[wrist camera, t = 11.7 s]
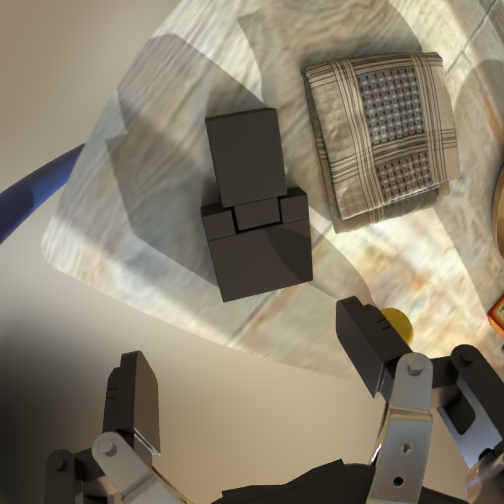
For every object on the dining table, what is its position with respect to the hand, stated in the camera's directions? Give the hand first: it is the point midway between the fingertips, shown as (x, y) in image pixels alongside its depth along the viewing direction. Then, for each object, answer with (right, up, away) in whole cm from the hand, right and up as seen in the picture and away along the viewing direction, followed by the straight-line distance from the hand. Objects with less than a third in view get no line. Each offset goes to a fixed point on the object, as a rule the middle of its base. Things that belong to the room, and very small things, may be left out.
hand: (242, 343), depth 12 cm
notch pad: (+1, +5, +21) cm, 21 cm away
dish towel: (+15, +16, +18) cm, 29 cm away
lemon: (+19, -5, +31) cm, 36 cm away
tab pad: (0, +12, +17) cm, 20 cm away
